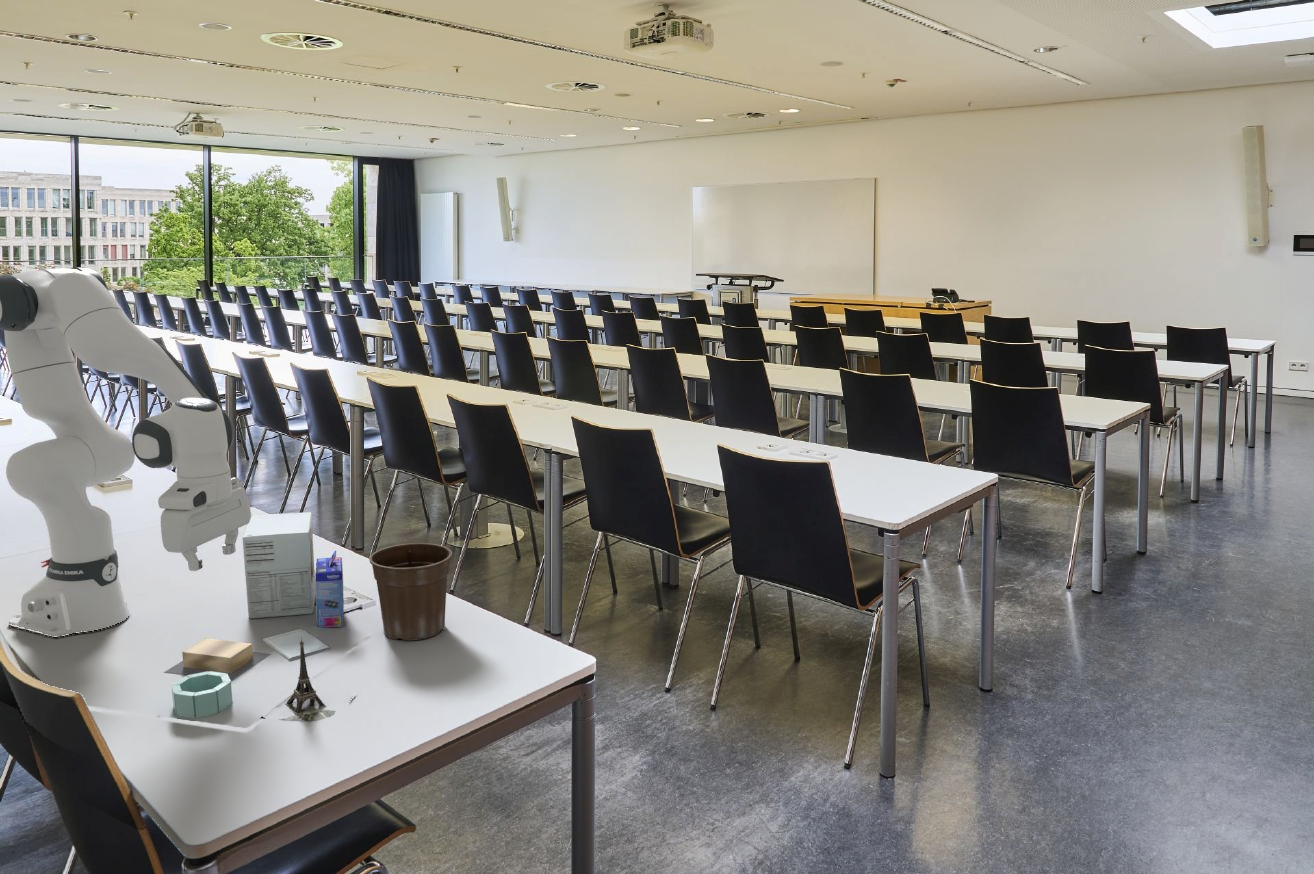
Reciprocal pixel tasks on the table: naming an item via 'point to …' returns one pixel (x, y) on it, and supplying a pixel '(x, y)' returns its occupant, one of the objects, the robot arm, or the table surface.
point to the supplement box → (279, 565)
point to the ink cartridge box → (329, 592)
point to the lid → (217, 655)
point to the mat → (189, 671)
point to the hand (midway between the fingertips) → (213, 561)
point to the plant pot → (412, 588)
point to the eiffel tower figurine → (306, 697)
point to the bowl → (201, 694)
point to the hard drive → (295, 644)
